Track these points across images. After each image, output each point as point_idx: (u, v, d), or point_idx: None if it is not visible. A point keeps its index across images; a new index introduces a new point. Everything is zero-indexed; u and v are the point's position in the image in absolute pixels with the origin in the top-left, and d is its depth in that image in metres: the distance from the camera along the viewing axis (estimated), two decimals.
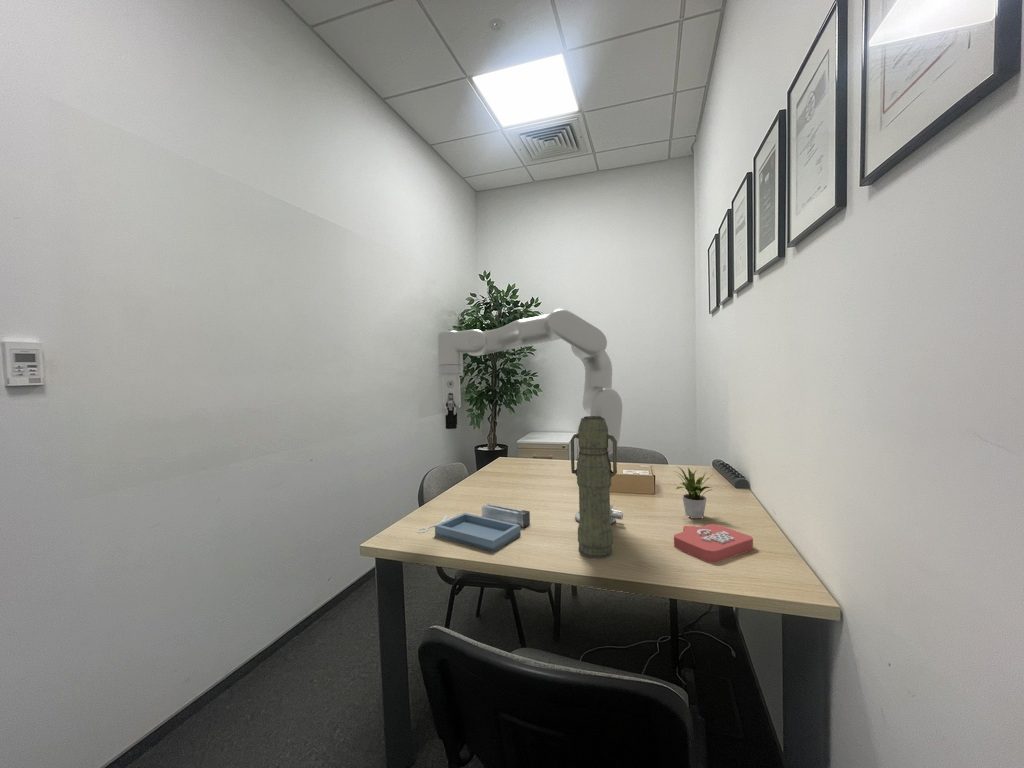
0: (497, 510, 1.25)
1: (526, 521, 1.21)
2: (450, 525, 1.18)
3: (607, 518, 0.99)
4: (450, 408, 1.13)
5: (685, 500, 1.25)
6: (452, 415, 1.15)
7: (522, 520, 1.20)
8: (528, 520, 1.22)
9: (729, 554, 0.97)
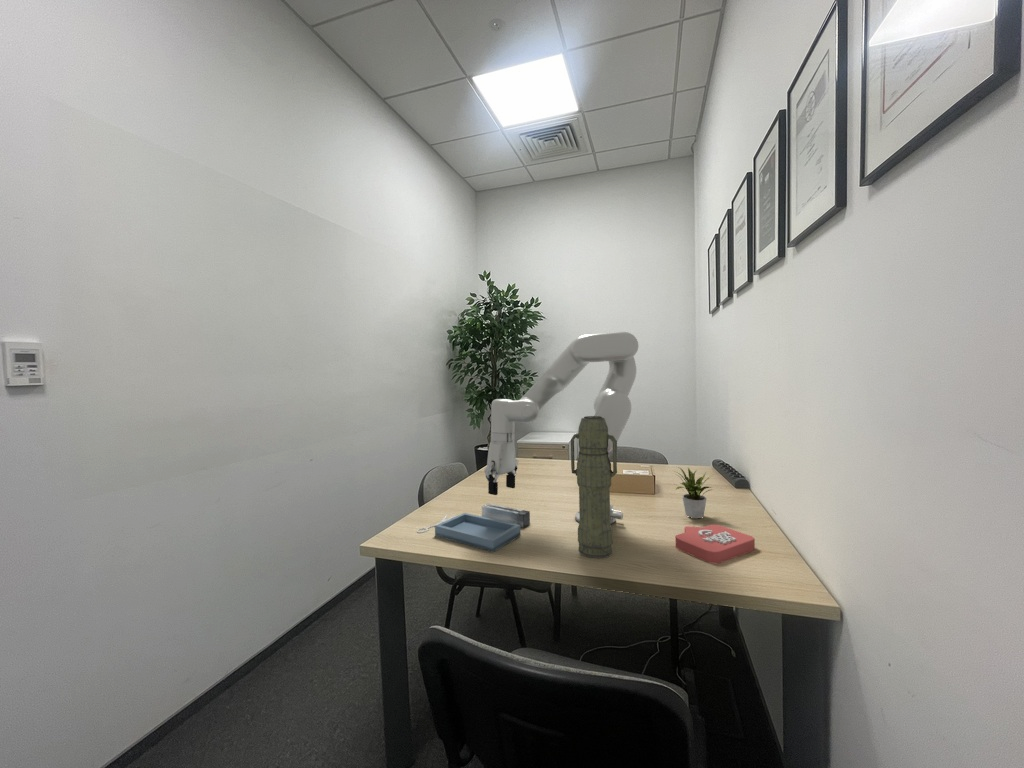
0: (497, 510, 1.25)
1: (526, 521, 1.21)
2: (450, 525, 1.18)
3: (607, 518, 0.99)
4: None
5: (685, 500, 1.25)
6: None
7: (522, 520, 1.20)
8: (528, 520, 1.22)
9: (731, 555, 0.96)
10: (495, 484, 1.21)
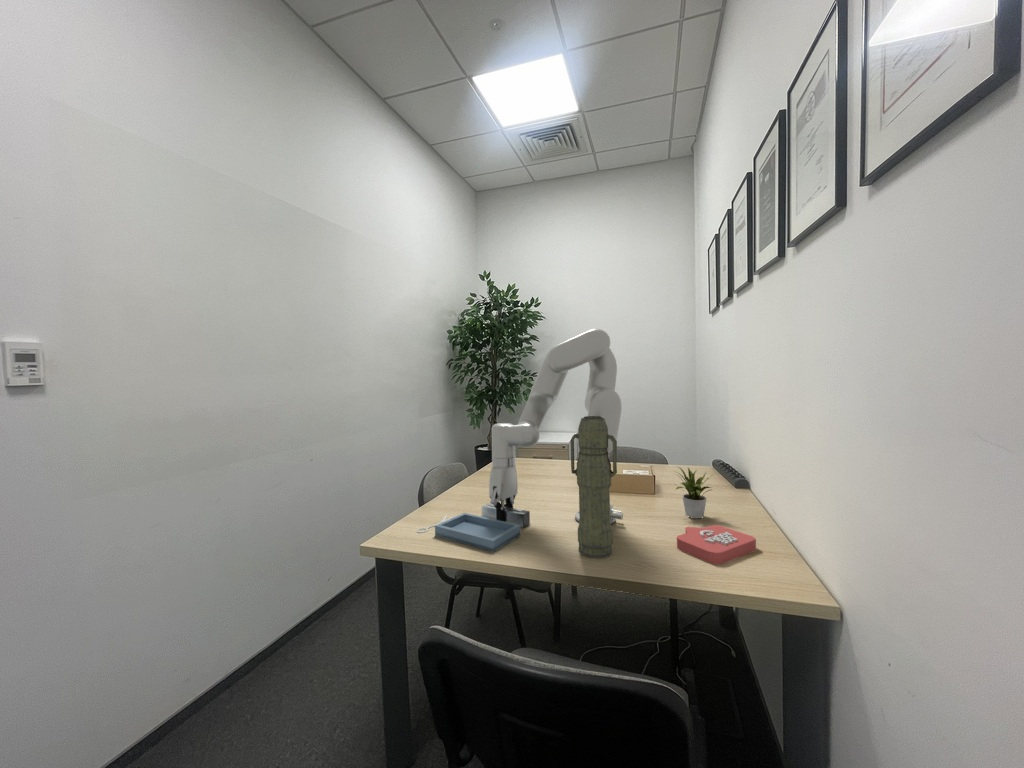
0: None
1: (526, 521, 1.21)
2: (450, 525, 1.18)
3: (607, 518, 0.99)
4: None
5: (685, 500, 1.25)
6: None
7: (522, 520, 1.20)
8: (528, 520, 1.22)
9: (733, 555, 0.96)
10: (503, 511, 1.23)
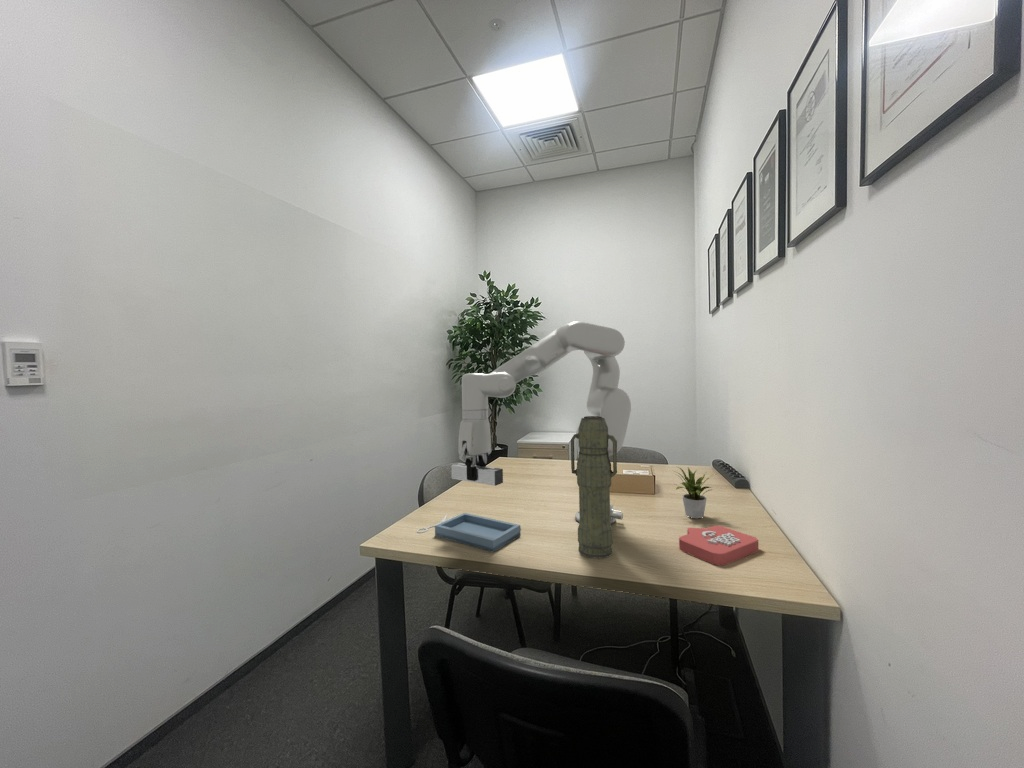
0: None
1: (498, 479, 1.09)
2: (450, 525, 1.18)
3: (607, 518, 0.99)
4: None
5: (685, 500, 1.25)
6: None
7: (494, 477, 1.08)
8: (500, 478, 1.10)
9: (736, 556, 0.95)
10: (473, 469, 1.11)
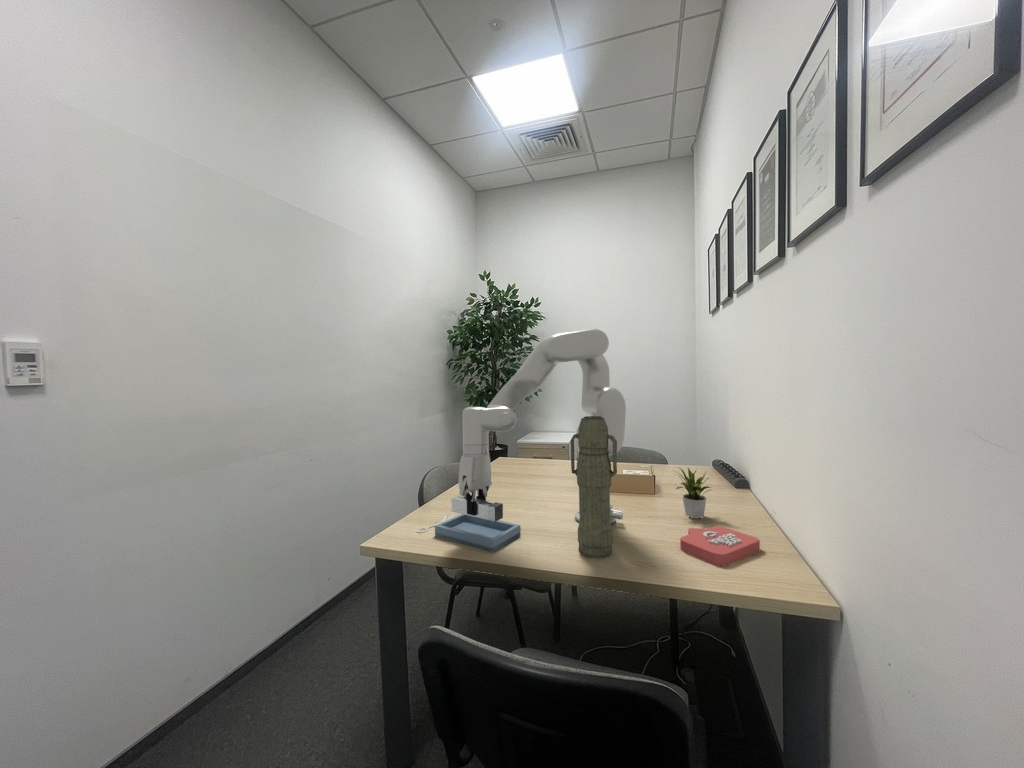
0: None
1: (498, 515, 1.09)
2: (450, 525, 1.18)
3: (607, 518, 0.99)
4: None
5: (685, 500, 1.25)
6: None
7: (494, 513, 1.08)
8: (500, 513, 1.10)
9: (737, 557, 0.95)
10: (474, 504, 1.11)
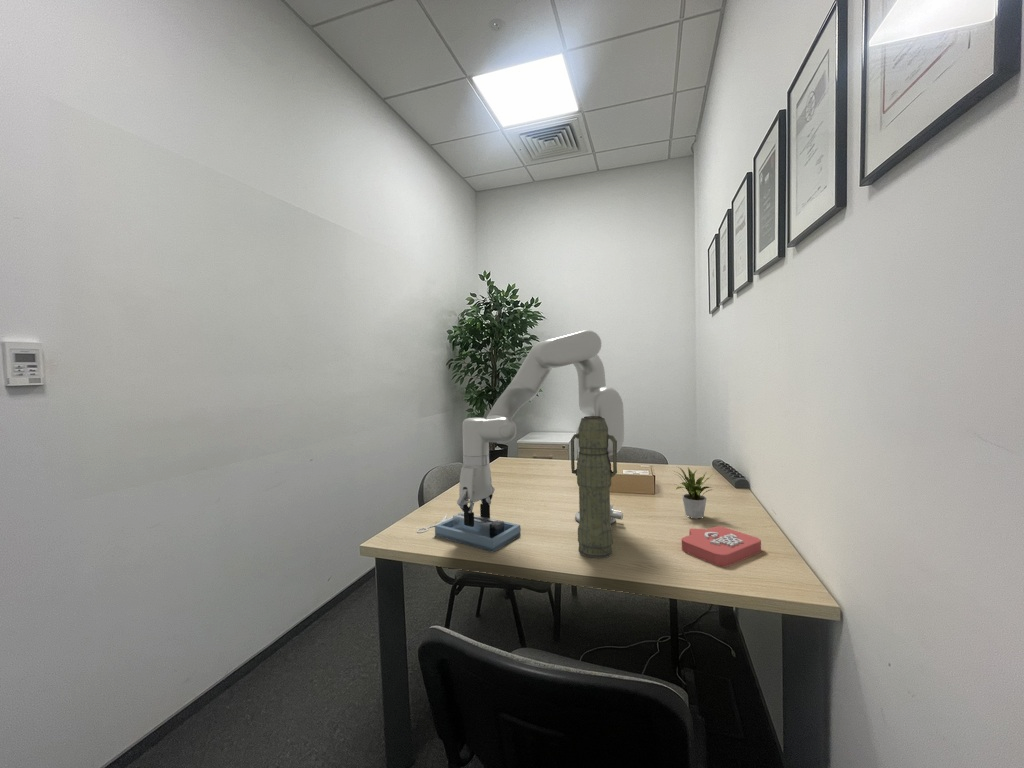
0: None
1: (499, 533, 1.09)
2: (450, 525, 1.18)
3: (607, 518, 0.99)
4: None
5: (685, 500, 1.25)
6: None
7: (495, 532, 1.08)
8: (502, 531, 1.10)
9: (739, 557, 0.95)
10: (471, 515, 1.10)
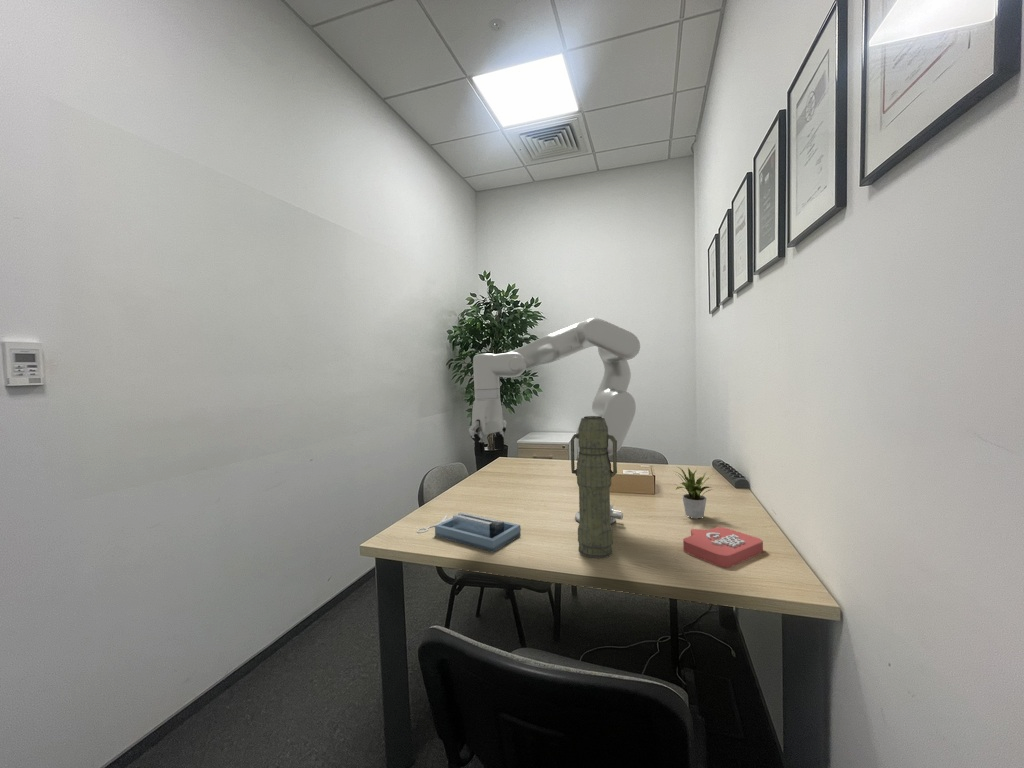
0: (469, 520, 1.13)
1: (499, 533, 1.09)
2: (450, 525, 1.18)
3: (607, 518, 0.99)
4: None
5: (685, 500, 1.25)
6: None
7: (495, 532, 1.08)
8: (502, 531, 1.10)
9: (741, 558, 0.95)
10: (482, 444, 1.11)
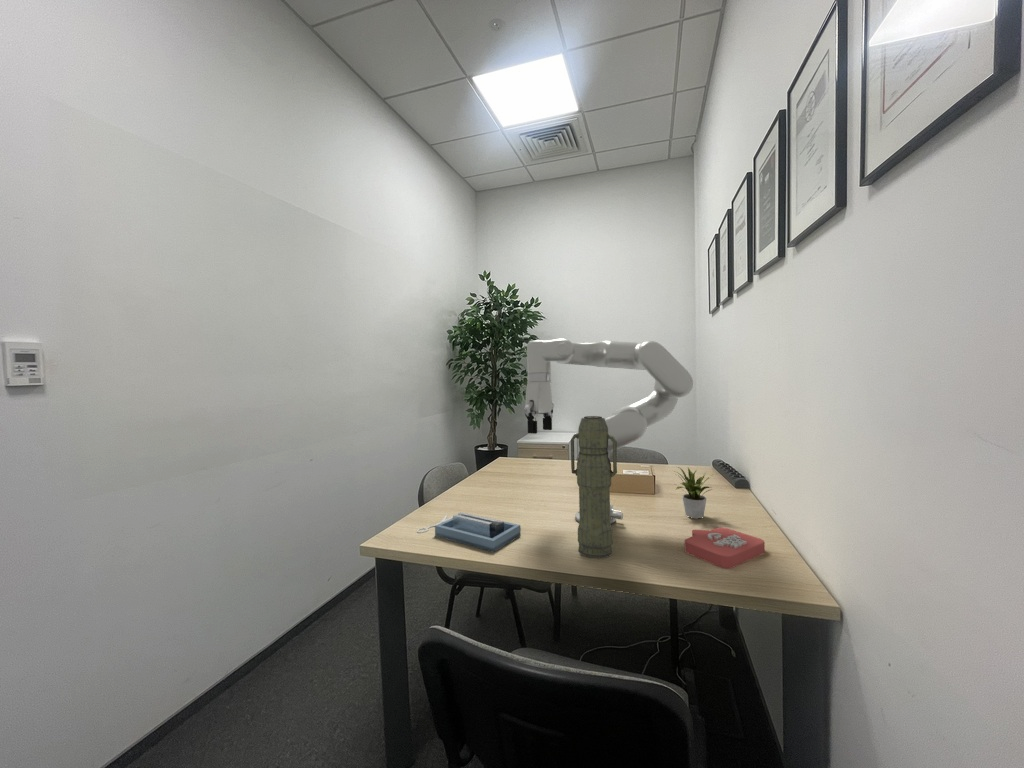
0: (469, 520, 1.13)
1: (499, 533, 1.09)
2: (450, 525, 1.18)
3: (607, 518, 0.99)
4: None
5: (685, 500, 1.25)
6: None
7: (495, 532, 1.08)
8: (502, 531, 1.10)
9: (743, 559, 0.94)
10: (534, 423, 1.22)
